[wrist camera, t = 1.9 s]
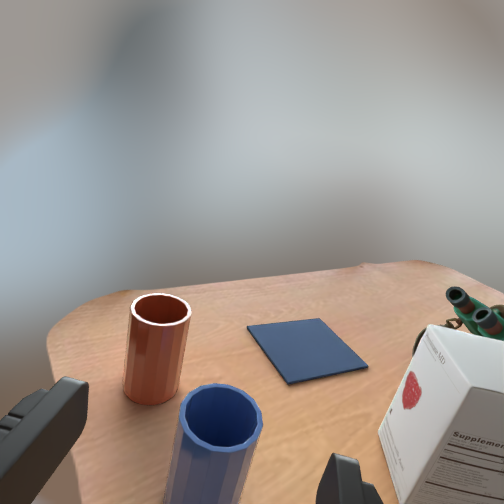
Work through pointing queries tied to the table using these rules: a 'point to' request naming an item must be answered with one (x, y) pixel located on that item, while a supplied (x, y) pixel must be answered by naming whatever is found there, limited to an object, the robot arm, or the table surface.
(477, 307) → the binoculars
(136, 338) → the terracotta tumbler
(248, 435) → the blue tumbler
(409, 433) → the rectangular carton
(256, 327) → the blue mat
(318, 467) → the table surface
